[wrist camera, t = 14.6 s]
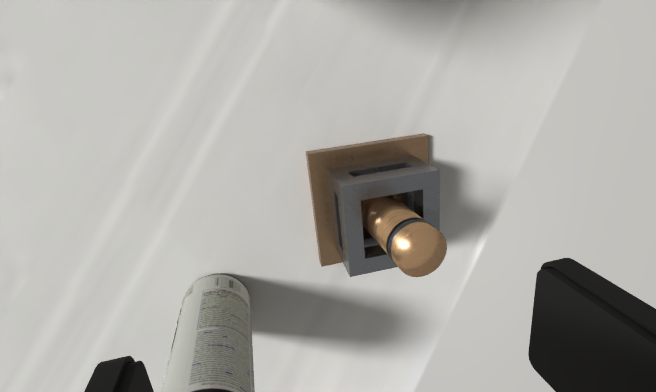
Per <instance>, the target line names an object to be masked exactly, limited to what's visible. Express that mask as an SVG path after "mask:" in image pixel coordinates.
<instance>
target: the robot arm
mask: <svg viewBox="0 0 656 392" xmlns="http://www.w3.org/2000/svg"><path fill="white" fill-rule="evenodd" d="M529 360H530V362H531V364H532V366H533V368H534V369H535V370H536V371H537V372H538V373H539V374H540V376H541V377H542V378H543V379H544V380H545V381H546V382H547V383H548V384H549V385H550V386H551V387H552V388H553V389H554V390H555V391H556V392H656V309H655V308H653V307H652V306H650V305H648V304H646V303H645V302H643V301H642V300H640V299H638V298H637V297H635V296H633V295H631V294H630V293H628V292H626V291H625V290H623V289H621V288H620V287H618V286H616V285H615V284H613V283H611V282H610V281H608V280H606V279H605V278H603V277H601V276H600V275H598V274H596V273H595V272H593V271H591V270H590V269H588V268H586V267H585V266H583V265H581V264H580V263H578V262H576V261H575V260H573V259H570V258H563V259H559V260H554V261H550V262H546V263H544V264H543V265H542V267H541V270H540V271H539V272H538V273H537V278H536V288H535V297H534V307H533V317H532V326H531V335H530V345H529ZM84 392H154V391H153V388H152V386H151V383H150V380H149V377H148V374H147V371H146V369H145V366H144V364H143V362H142V361H137V362H135V361H134V359H133V358H132V357H131V356H126V357H122V358H118V359H113V360H109V361H104V362H101V363H99V364H98V365H97V367H96V368H95V370H94V372H93V375H92V377H91V379H90V381H89V383H88V385H87V387H86V389H85V391H84Z"/></svg>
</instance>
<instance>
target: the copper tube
mask: <svg viewBox="0 0 656 392" xmlns="http://www.w3.org/2000/svg"><path fill="white" fill-rule="evenodd" d="M361 213H362V225H363V226H364V227H365V228H366V230H367V231H368V232H369V233H370V234H371V235H372V237H373V238H374V239H375V240H376V241H377V242H378V244H379V245H380V246H381V247H382V248H383V249H384V251H385V252H386V253H387V254H388V256H389V257H390V259H391V260H392V261H393V262H394V263H395V264H396V265H397V266H398V267H399V268H400V269H401V270H402V271H403V272H404V273H405V274H407V275H409V276H412V277H421V276H425V275H428V274H430V273H431V272H433V271H434V270H436V269H437V268H438V267H439V266H440V264H441V263H442V261H443V260H444V257H445V255H446V250H447V244H446V240H445V238H444V236H443V235H442V234H441V233H440V232H439V231H438V230H437V229H436V228H435V227H434V226H432V225H431V224H430V223H429V222H427V221H426V220H424V219H422V218H421V217H420V216H419V215H417V214H416V213H415V212H413V211H412V210H411V209H410V208H408V207H407V206H406V205H404V204H403V203H402V202H401V201H399V200H398V199H397V198H395V197H394V196H393V195H388V196H382V197H377V198H371V199H366V200H361Z"/></svg>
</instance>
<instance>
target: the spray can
mask: <svg viewBox="0 0 656 392" xmlns="http://www.w3.org/2000/svg"><path fill="white" fill-rule="evenodd" d="M161 392H255V391H254V371H253V349H252V329H251V308H250V297H249V294H248V291H247V289H246V288H245V286H244V285H243V284H242V283H241V282H240V281H239V280H237V279H236V278H234V277H232V276H229V275H227V274H214V275H209V276H205V277H202V278H200V279H198V280H197V281H196V282H195V283H193V285H192V286H191V287H190V288H189V289H188V291H187V292H186V294H185V296H184V298H183V302H182V306H181V310H180V314H179V318H178V322H177V328H176V332H175V336H174V341H173V345H172V349H171V353H170V357H169V361H168V366H167V370H166V374H165V378H164V382H163V387H162V391H161Z"/></svg>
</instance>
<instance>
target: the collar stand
mask: <svg viewBox="0 0 656 392" xmlns="http://www.w3.org/2000/svg"><path fill="white" fill-rule="evenodd" d="M306 157H307V165H308V172H309V180H310V188H311V196H312V204H313V212H314V220H315V228H316V236H317V243H318V251H319V259H320V263H321V266H326V265H331V264H336V263H341V262H343V264H344V266H345V268H346V270H347V272H348V273H349V275H350V277H352V276H357V275H361V274H366V273H371V272H376V271H380V270H385V269H390V268H394V267H398V266H397V265H396V264H395V263H394V262H393V261H392V260H391V259H390V257H389V256H388V254H387V253H386V252H385V251H384V249H383V248H382V247H381V246H380V245H379V244H378V242H377V241H376V240H375V239H374V238H373V237H372V235H371V234H370V233H369V232H368V231H367V230H366V228H365V227H364V226H363V225H362V213H361V200H366V199H371V198H377V197H382V196H388V195H393V196H394V197H395V198H397V199H398V200H399V201H401V202H402V203H403V204H404V205H406V206H407V207H408V208H410V209H411V210H412V211H413V212H415V213H416V214H417V215H419V216H420V217H421V218H422V219H424V220H426V221H427V222H429V223H430V224H431V225H432V226H434V227H435V228H436V229H437V230H438V231H439V169H437V168H435V167H433V166H432V165H430V164H429V149H428V135H426V134H419V135H412V136H405V137H399V138H392V139H386V140H379V141H373V142H366V143H360V144H353V145H347V146H340V147H334V148H327V149H321V150H314V151H307V152H306Z"/></svg>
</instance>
